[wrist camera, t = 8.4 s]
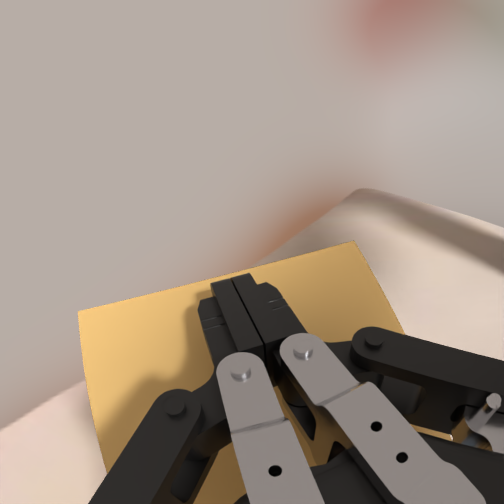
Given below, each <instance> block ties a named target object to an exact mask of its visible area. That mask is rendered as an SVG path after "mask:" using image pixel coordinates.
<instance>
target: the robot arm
mask: <svg viewBox="0 0 504 504" xmlns="http://www.w3.org/2000/svg"><path fill="white" fill-rule="evenodd" d="M210 287H211V292H212V296H213V297H210V298H206V299H202V300H200V303H199V306H198V310H197V311H198V315H199V319H200V322H201V326H202V330H203V333H204V337H205V341H206V344H207V347H208V350H209V353H210V356H211V359H212V362H213V365H214V372H213V374H212V376H211V378H210V379H209V380H208V381H207V382H206V383H205V384H204V385H202V386H201V387H199V388H198V389H196V390H194V391H192V392H191V391H188V390H185V389H172V390H169V391H166V392H164V393H162V394H161V395H160V396H159V397H158V398H157V399H156V400H155V401H154V403H153V404H152V406H151V407H150V409H149V411H148V412H147V414H146V415H145V417H144V418H143V420H142V421H141V423H140V424H139V426H138V428H137V429H136V431H135V432H134V434H133V435H132V437H131V438H130V440H129V441H128V443H127V445H126V446H125V448H124V449H123V451H122V452H121V454H120V455H119V457H118V458H117V460H116V462H115V463H114V465H113V466H112V468H111V469H110V471H109V472H108V474H107V476H106V477H105V479H104V480H103V482H102V483H101V485H100V486H99V488H98V489H97V491H96V493H95V494H94V496H93V497H92V499H91V500H90V502H89V503H88V504H193V503H194V501H195V499H196V497H197V495H198V493H199V491H200V489H201V487H202V485H203V483H204V481H205V479H206V477H207V475H208V473H209V471H210V469H211V467H212V465H213V463H214V461H215V459H216V457H217V455H218V452H219V450H221V449H222V448H224V447H225V446H227V445H228V444H230V443H231V442H233V446H234V450H235V453H236V457H237V460H238V464H239V468H240V471H241V475H242V478H243V481H244V485H245V488H246V492H247V493H246V494H244V495H243V496H242V497H240V498H239V499H238V500H237V501H236V502H235V503H234V504H504V361H502V360H498V359H494V358H490V357H486V356H482V355H478V354H474V353H471V352H467V351H463V350H459V349H455V348H451V347H448V346H444V345H440V344H437V343H433V342H429V341H426V340H422V339H418V338H415V337H411V336H408V335H404V334H401V333H397V332H394V331H390V330H387V329H383V328H380V327H374V326H370V327H364V328H361V329H359V330H358V331H357V332H356V333H355V334H354V335H353V338H352V341H342V342H323V341H322V340H321V339H320V338H319V337H317V336H315V335H313V334H309V333H308V332H307V331H306V330H305V328H304V327H303V325H302V324H301V322H300V321H299V319H298V318H297V316H296V315H295V314H294V312H293V311H292V309H291V308H290V306H288V303H287V302H286V300H285V299H283V296H282V295H281V293H280V292H279V290H278V289H277V288H276V287H274V286H273V285H271V284H269V283H267V282H264V283H261V284H257V283H256V282H255V280H254V279H253V277H252V275H251V274H250V273H246V274H242V275H239V276H235V277H231V278H228V279H224V280H220V281H216V282H212V283H210ZM276 386H278V388H279V390H280V392H281V394H282V403H283V405H284V407H285V409H286V410H287V412H288V414H289V415H290V417H291V418H292V420H293V421H294V423H295V425H296V426H297V428H298V429H299V431H300V432H301V434H302V435H303V437H304V439H305V440H306V442H307V443H308V445H309V447H310V449H311V453H312V456H313V459H314V461H315V463H316V464H317V466H312V467H309V465H308V463H307V460H306V458H305V455H304V453H303V451H302V448H301V446H300V443H299V441H298V439H297V436H296V434H295V431H294V429H293V427H292V424H291V422H290V421H289V419H288V418H285V416H284V414H283V412H282V410H281V407H280V404H279V402H278V399H277V397H276V394H275V392H274V389H273V387H276ZM410 424H412V425H415V426H419V427H423V428H426V429H430V430H434V431H438V432H442V433H446V434H450V435H452V437H453V440H452V441H449V440H446V439H442V438H439V437H435V436H432V435H429V434H425V433H422V432H417V431H415V429H414V428H413V427H412V426H411V425H410Z"/></svg>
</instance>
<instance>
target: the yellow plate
mask: <svg viewBox="0 0 504 504" xmlns="http://www.w3.org/2000/svg"><path fill="white" fill-rule="evenodd" d="M246 273H250V274H251V275H252V277H253V279H254V280H255V282H256V283H257V284H261V283H264V282H267V283H269V284H271V285H273V286H274V287H276V288H277V289H278V290H279V292H280V293H281V295H282V296H283V299H285V300H286V302H287V303H288V306H290V308H291V309H292V311H293V312H294V314H295V315H296V316H297V318H298V319H299V321H300V322H301V324H302V325H303V327H304V328H305V330H306V331H307V332H308V333H309V334H313V335H315V336H317V337H319V338H320V339H321V340H322V341H323V342H342V341H352V338H353V335H354V334H355V333H356V332H357V331H358V330H359V329H361V328H364V327H370V326H374V327H380V328H383V329H387V330H390V331H394V332H397V333H401V334H404V335H405V333H404V331H403V329H402V327H401V325H400V323H399V321H398V319H397V317H396V315H395V313H394V311H393V309H392V308H391V306H390V304H389V302H388V300H387V298H386V296H385V294H384V292H383V291H382V289H381V287H380V285H379V283H378V282H377V280H376V278H375V276H374V274H373V273H372V271H371V269H370V267H369V265H368V264H367V262H366V260H365V258H364V257H363V255H362V253H361V252H360V250H359V248H358V246H357V245H356V243H355V241H351V242H347V243H343V244H340V245H336V246H332V247H329V248H325V249H321V250H318V251H314V252H310V253H306V254H303V255H299V256H295V257H291V258H288V259H284V260H280V261H276V262H273V263H269V264H265V265H261V266H257V267H254V268H250V269H246V270H242V271H238V272H235V273H231V274H227V275H223V276H219V277H215V278H211V279H207V280H203V281H199V282H195V283H192V284H188V285H184V286H180V287H176V288H172V289H168V290H164V291H160V292H156V293H152V294H148V295H144V296H139V297H135V298H131V299H128V300H123V301H119V302H115V303H111V304H107V305H103V306H99V307H95V308H90V309H86V310H82V311H78V319H79V330H80V339H81V348H82V357H83V364H84V371H85V378H86V384H87V390H88V395H89V401H90V406H91V411H92V416H93V420H94V425H95V429H96V433H97V437H98V441H99V445H100V449H101V453H102V457H103V460H104V464H105V467H106V471H107V474H108V472H109V471H110V469H111V468H112V466H113V465H114V463H115V462H116V460H117V458H118V457H119V455H120V454H121V452H122V451H123V449H124V448H125V446H126V445H127V443H128V441H129V440H130V438H131V437H132V435H133V434H134V432H135V431H136V429H137V428H138V426H139V424H140V423H141V421H142V420H143V418H144V417H145V415H146V414H147V412H148V411H149V409H150V407H151V406H152V404H153V403H154V401H155V400H156V399H157V398H158V397H159V396H160V395H161V394H162V393H164V392H166V391H169V390H172V389H185V390H188V391H191V392H192V391H194V390H196V389H198V388H199V387H201V386H202V385H204V384H205V383H206V382H207V381H208V380H209V379H210V378H211V376H212V374H213V372H214V365H213V362H212V359H211V356H210V353H209V350H208V347H207V344H206V341H205V337H204V333H203V330H202V326H201V322H200V319H199V315H198V311H197V310H198V306H199V303H200V300H202V299H206V298H210V297H213V296H212V292H211V287H210V283H212V282H216V281H220V280H224V279H228V278H231V277H235V276H239V275H242V274H246ZM273 389H274V392H275V394H276V397H277V399H278V402H279V404H280V407H281V410H282V412H283V414H284V416H285V418H288V419H289V421H290V422H291V424H292V427H293V429H294V431H295V434H296V436H297V439H298V441H299V443H300V446H301V448H302V451H303V453H304V455H305V458H306V460H307V463H308V465H309V467H312V466H317V464H316V463H315V461H314V459H313V456H312V453H311V449H310V447H309V445H308V443H307V442H306V440H305V439H304V437H303V435H302V434H301V432H300V431H299V429H298V428H297V426H296V425H295V423H294V421H293V420H292V418H291V417H290V415H289V414H288V412H287V410H286V409H285V407H284V405H283V403H282V394H281V392H280V390H279V388H278V386H276V387H273ZM410 425H411V426H412V427H413V428H414V429H415V431H417V432H422V433H425V434H429V435H432V436H435V437H439V438H442V439H446V440H449V441H452V440H451V437H450V435H449V434H446V433H442V432H438V431H434V430H430V429H426V428H423V427H419V426H415V425H412V424H410ZM246 493H247V492H246V488H245V485H244V481H243V478H242V475H241V471H240V468H239V464H238V460H237V457H236V453H235V450H234V446H233V442H231V443H230V444H228V445H227V446H225V447H224V448H222V449H221V450H219V452H218V455H217V457H216V459H215V461H214V463H213V465H212V467H211V469H210V471H209V473H208V475H207V477H206V479H205V481H204V483H203V485H202V487H201V489H200V491H199V493H198V495H197V497H196V499H195V501H194V503H193V504H234V503H235V502H236V501H237V500H238V499H239V498H240V497H242V496H243V495H244V494H246Z"/></svg>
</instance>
